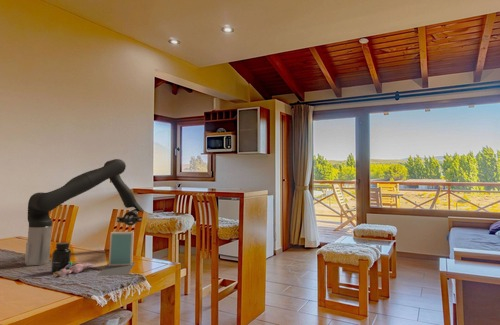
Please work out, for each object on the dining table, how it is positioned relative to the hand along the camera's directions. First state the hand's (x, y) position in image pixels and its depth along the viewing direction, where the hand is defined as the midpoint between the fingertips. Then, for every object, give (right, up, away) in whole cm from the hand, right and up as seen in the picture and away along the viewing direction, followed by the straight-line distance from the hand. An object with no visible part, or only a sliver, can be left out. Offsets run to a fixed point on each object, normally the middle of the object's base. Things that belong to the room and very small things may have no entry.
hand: (126, 221), depth 158 cm
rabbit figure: (-12, -18, -26) cm, 34 cm away
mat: (+3, -18, -18) cm, 26 cm away
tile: (+2, -18, -12) cm, 22 cm away
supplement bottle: (-19, -18, -23) cm, 35 cm away
